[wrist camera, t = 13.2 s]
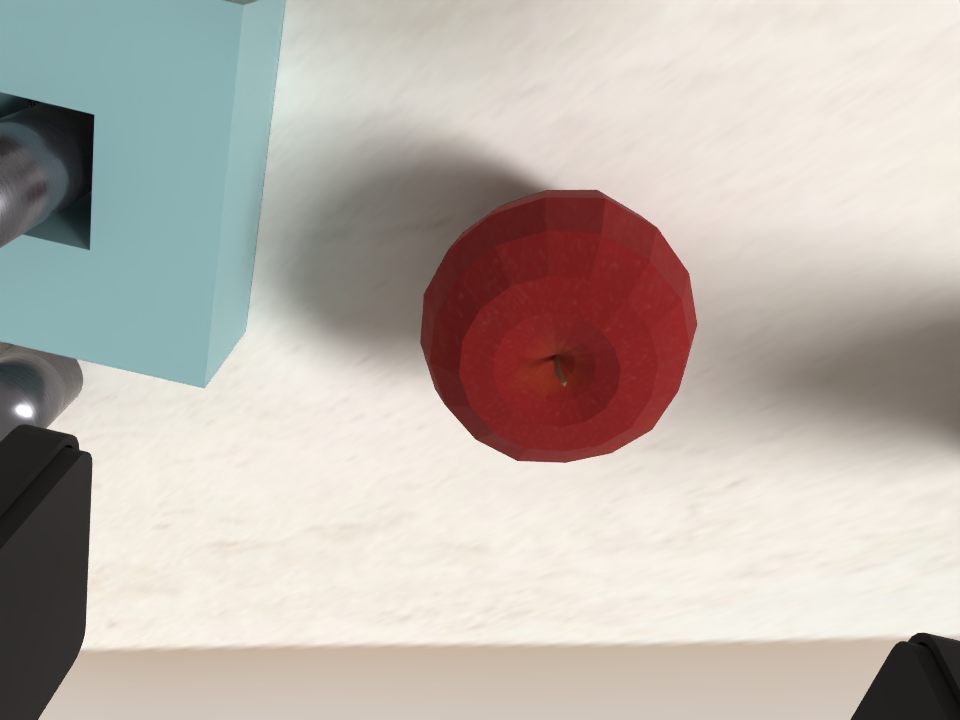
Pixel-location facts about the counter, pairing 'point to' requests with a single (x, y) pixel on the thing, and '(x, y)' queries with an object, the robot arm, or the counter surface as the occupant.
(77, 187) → the long pin
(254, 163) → the socket block
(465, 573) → the counter surface
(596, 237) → the apple
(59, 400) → the short pin
